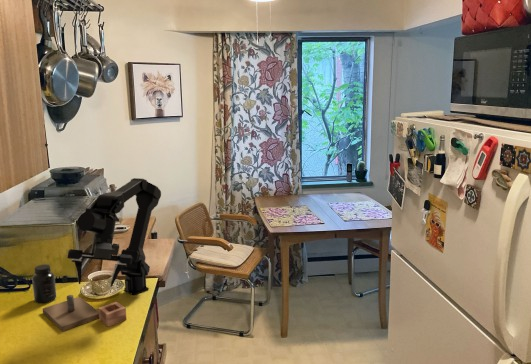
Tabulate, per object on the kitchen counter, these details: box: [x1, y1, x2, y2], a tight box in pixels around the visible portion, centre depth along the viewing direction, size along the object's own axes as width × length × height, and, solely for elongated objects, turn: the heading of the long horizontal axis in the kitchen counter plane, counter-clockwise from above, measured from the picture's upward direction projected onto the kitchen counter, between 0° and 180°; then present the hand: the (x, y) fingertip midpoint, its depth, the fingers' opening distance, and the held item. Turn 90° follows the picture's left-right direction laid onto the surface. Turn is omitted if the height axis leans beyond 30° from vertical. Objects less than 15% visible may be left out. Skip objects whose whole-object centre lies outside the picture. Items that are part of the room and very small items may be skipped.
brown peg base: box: [42, 294, 99, 332], centre depth 143 cm, size 12×16×6 cm
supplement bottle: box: [31, 263, 57, 305], centre depth 153 cm, size 7×7×12 cm
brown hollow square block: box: [98, 301, 127, 328], centre depth 140 cm, size 6×6×4 cm
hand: (95, 285), depth 137 cm, fingers open, 9 cm apart
